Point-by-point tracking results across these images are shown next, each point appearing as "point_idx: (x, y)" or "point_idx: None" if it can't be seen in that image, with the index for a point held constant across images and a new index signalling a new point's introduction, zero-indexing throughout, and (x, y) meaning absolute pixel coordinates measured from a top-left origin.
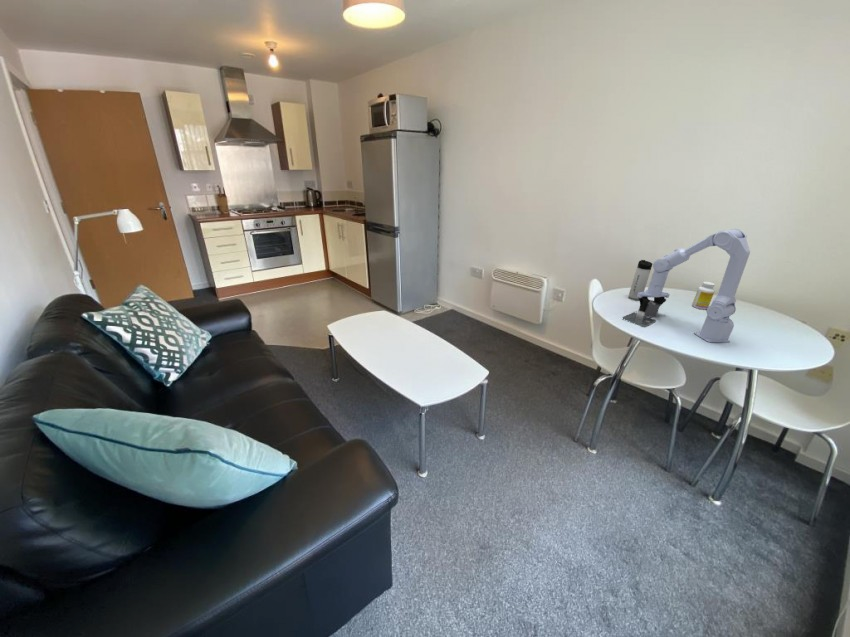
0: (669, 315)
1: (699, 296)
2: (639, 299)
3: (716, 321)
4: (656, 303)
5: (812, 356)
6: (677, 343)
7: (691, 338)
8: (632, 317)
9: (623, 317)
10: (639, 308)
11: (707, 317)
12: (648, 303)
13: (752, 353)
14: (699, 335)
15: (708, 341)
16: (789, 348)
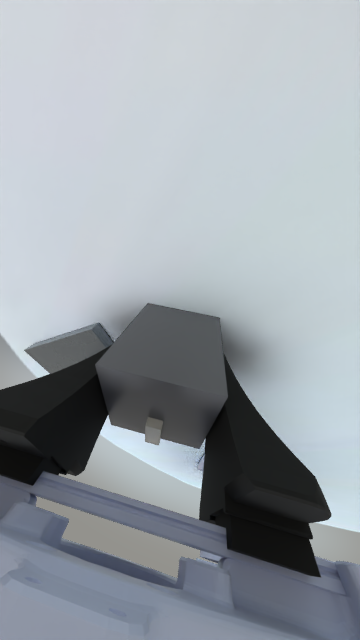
0: (295, 378)
1: None
2: (40, 383)
3: (204, 557)
4: (189, 435)
5: (343, 526)
6: (125, 444)
7: (176, 450)
8: (63, 363)
9: (28, 352)
10: (137, 318)
11: (196, 560)
12: (119, 415)
13: None
14: (203, 460)
15: (197, 467)
16: (351, 519)
